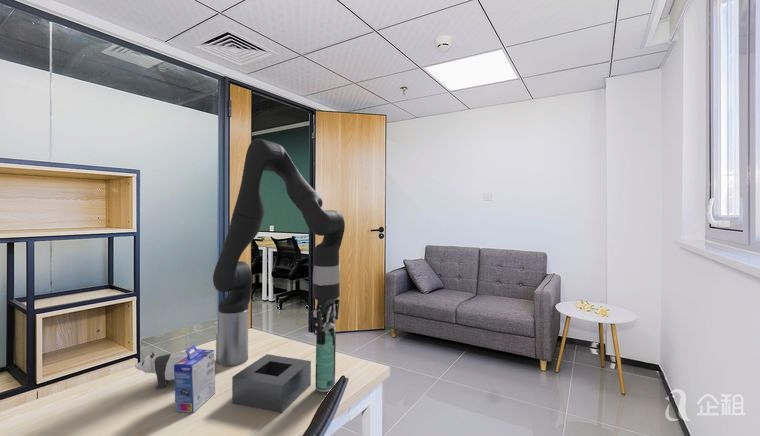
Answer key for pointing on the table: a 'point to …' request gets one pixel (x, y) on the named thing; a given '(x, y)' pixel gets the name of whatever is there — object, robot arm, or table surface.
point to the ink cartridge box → (194, 379)
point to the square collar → (271, 383)
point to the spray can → (326, 359)
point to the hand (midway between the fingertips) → (325, 340)
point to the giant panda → (161, 366)
